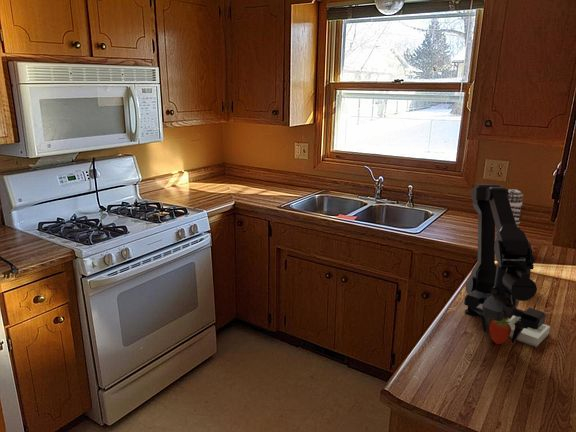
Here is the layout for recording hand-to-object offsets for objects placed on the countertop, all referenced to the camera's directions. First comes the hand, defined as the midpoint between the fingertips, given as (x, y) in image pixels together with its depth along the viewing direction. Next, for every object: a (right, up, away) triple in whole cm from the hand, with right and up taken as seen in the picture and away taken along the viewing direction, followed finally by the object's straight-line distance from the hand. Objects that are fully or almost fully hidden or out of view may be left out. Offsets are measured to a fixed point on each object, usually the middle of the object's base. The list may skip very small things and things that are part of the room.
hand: (499, 337), depth 120 cm
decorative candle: (+38, +19, +74) cm, 85 cm away
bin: (+9, 0, +5) cm, 11 cm away
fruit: (0, -2, 0) cm, 2 cm away
